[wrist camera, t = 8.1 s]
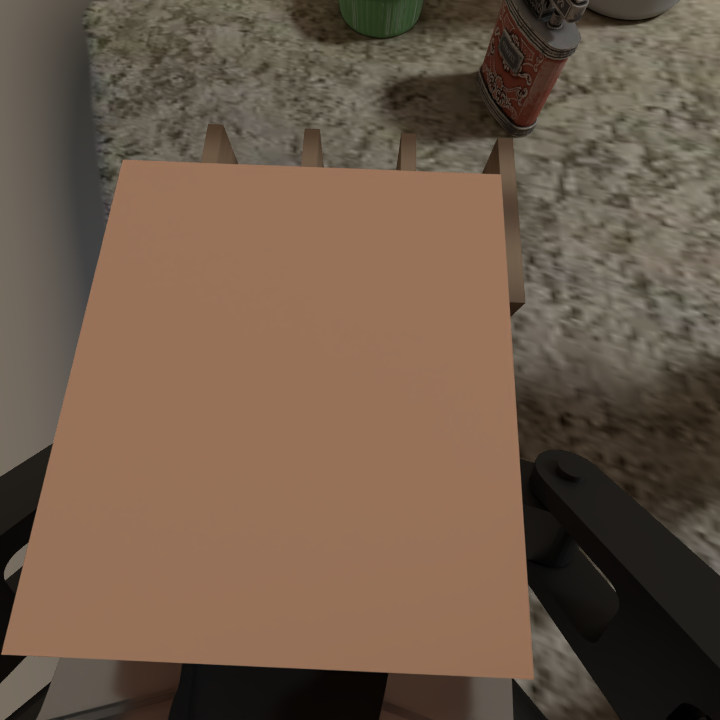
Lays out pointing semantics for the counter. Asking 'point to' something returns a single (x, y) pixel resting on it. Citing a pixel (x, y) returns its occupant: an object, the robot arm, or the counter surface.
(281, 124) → the counter surface
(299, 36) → the counter surface
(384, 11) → the ramekin
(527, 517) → the robot arm
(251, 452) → the clay bar
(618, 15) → the cylinder vase
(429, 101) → the counter surface
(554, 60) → the lighter
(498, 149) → the wooden slotted holder
